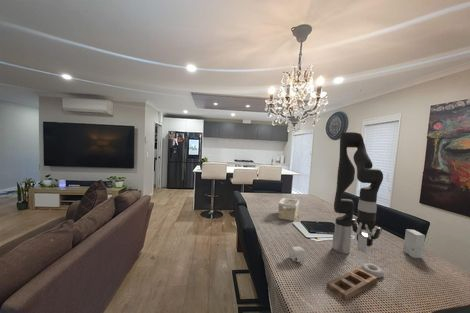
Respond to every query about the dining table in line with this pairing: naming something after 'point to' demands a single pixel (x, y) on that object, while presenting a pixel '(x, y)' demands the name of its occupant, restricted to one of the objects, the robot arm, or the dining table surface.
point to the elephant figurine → (297, 253)
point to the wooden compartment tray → (351, 283)
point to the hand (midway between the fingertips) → (364, 243)
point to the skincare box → (414, 243)
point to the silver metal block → (363, 243)
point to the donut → (372, 269)
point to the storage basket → (288, 209)
